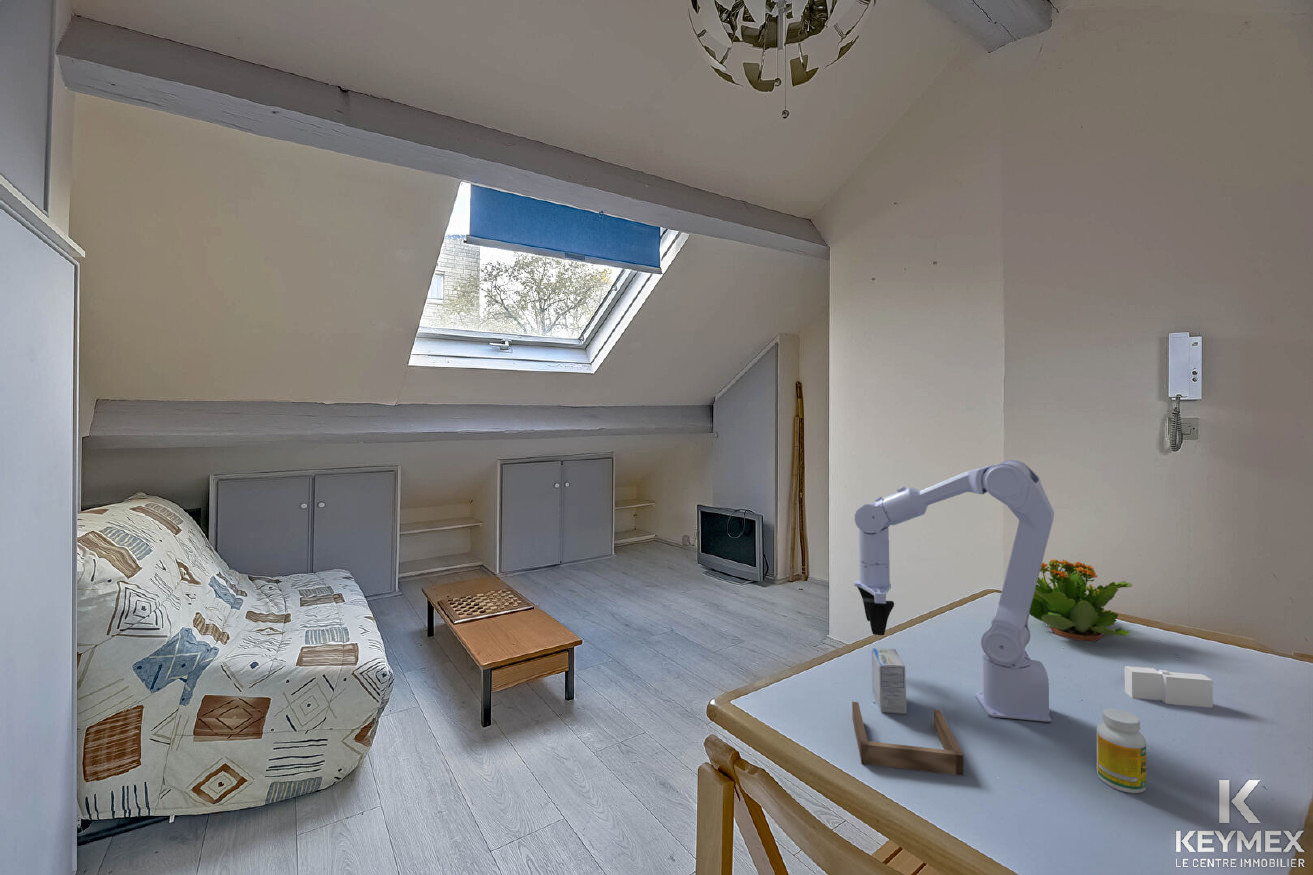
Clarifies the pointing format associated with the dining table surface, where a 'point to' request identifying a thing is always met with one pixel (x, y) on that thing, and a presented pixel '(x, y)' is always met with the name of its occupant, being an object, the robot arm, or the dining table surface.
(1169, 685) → the white notched double block
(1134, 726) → the supplement bottle
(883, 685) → the medicine box
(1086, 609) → the potted flower
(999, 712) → the robot arm
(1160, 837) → the dining table surface
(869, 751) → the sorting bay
